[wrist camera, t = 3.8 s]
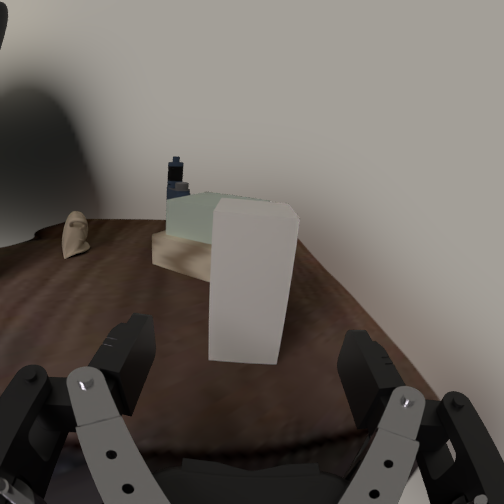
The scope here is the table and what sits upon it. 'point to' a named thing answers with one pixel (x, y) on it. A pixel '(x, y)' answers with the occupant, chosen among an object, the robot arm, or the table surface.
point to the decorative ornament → (75, 235)
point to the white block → (250, 279)
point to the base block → (182, 255)
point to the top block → (194, 215)
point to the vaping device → (176, 180)
